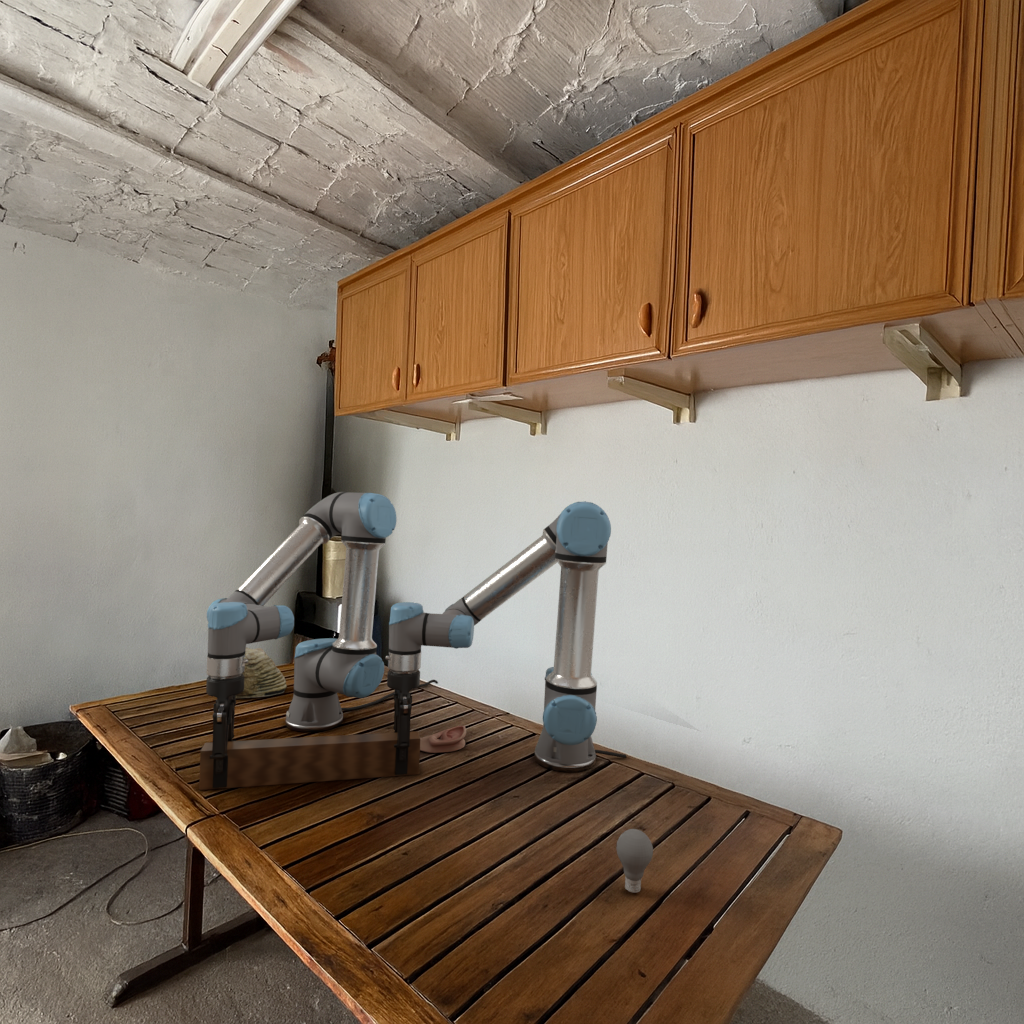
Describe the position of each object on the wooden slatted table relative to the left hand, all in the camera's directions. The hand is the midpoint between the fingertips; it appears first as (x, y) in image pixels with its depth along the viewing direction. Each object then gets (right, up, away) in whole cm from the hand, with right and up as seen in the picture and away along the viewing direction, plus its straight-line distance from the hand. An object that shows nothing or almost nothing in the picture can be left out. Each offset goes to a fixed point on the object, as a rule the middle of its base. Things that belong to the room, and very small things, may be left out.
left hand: (222, 781), depth 138 cm
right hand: (+37, -1, +10) cm, 38 cm away
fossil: (-18, +1, +60) cm, 63 cm away
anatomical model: (+44, -2, +27) cm, 52 cm away
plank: (+18, -1, +5) cm, 19 cm away
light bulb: (+83, -5, -32) cm, 89 cm away
